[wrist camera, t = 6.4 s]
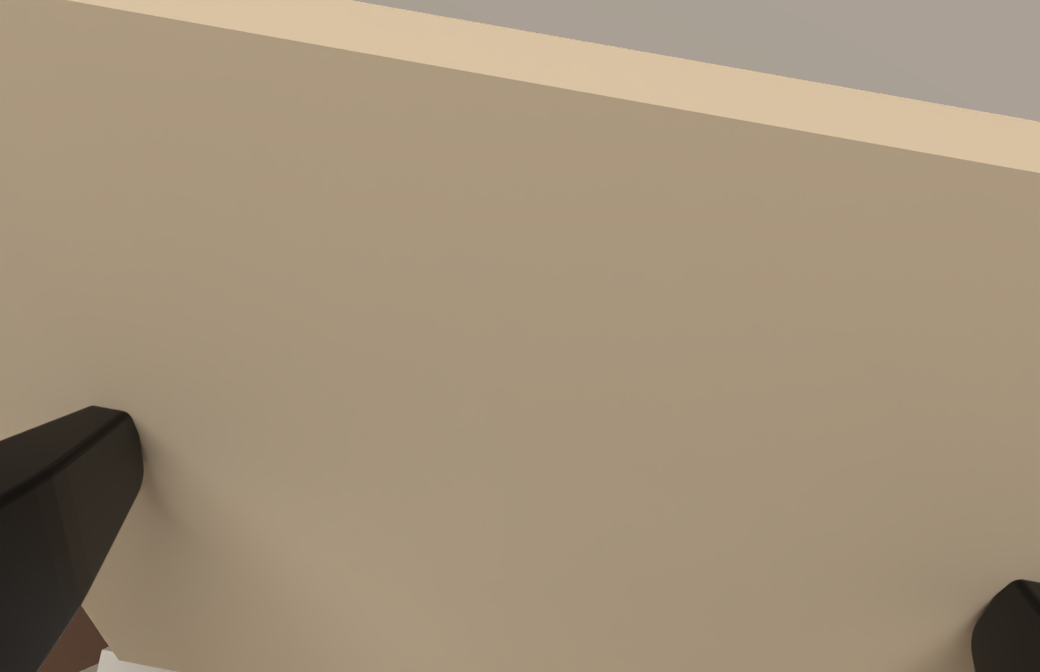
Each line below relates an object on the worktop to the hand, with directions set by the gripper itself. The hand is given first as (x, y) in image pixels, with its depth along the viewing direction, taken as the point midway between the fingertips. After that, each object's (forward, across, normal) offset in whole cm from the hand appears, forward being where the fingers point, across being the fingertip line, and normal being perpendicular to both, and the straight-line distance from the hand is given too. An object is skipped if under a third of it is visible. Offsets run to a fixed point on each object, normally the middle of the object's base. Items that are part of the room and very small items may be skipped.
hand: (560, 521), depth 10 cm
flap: (0, 0, -1) cm, 1 cm away
